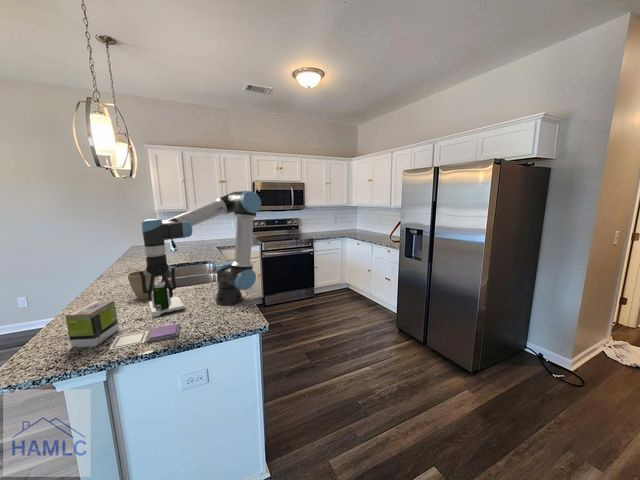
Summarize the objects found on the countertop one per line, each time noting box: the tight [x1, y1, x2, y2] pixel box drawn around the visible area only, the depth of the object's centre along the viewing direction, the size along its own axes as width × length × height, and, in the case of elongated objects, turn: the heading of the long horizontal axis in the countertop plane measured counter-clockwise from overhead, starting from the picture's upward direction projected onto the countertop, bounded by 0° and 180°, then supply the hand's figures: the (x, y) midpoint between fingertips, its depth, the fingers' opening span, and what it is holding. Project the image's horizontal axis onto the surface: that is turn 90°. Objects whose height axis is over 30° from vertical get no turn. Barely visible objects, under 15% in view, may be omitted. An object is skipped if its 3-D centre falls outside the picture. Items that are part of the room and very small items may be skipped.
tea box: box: [65, 300, 120, 348], centre depth 118 cm, size 15×10×15 cm
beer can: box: [153, 281, 169, 312], centre depth 120 cm, size 5×5×12 cm
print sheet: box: [108, 330, 149, 351], centre depth 117 cm, size 12×12×1 cm
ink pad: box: [145, 323, 181, 344], centre depth 122 cm, size 12×12×2 cm
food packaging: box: [148, 296, 185, 318], centre depth 151 cm, size 15×3×20 cm
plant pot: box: [126, 270, 157, 300], centre depth 168 cm, size 15×15×16 cm
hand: (162, 305), depth 120 cm, fingers closed on beer can, 5 cm apart
